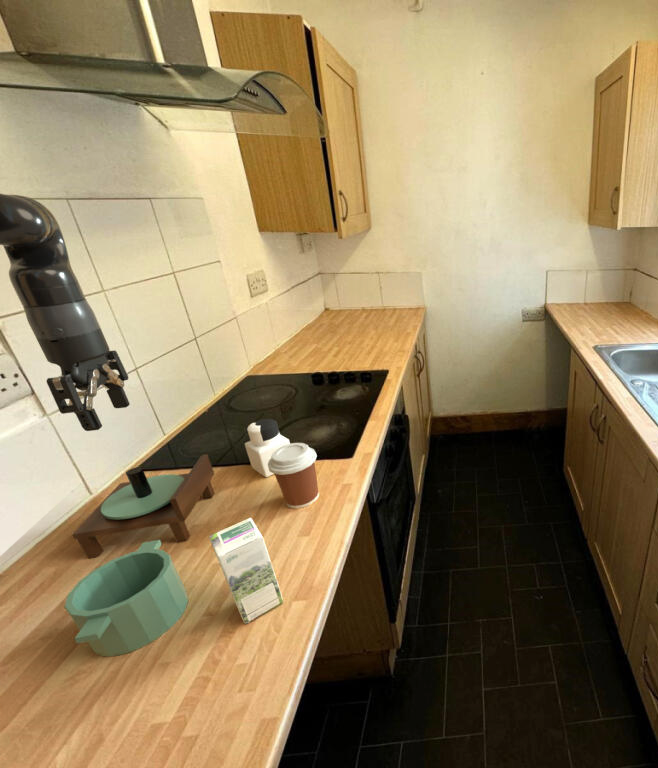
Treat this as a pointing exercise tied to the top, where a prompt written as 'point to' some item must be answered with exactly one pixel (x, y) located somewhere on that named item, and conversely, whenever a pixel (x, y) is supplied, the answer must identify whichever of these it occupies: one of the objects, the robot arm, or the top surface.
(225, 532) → the milk carton
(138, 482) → the lid
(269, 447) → the medicine bottle
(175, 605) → the pot
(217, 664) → the top surface
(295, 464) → the coffee cup
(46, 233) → the robot arm
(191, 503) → the shelf
